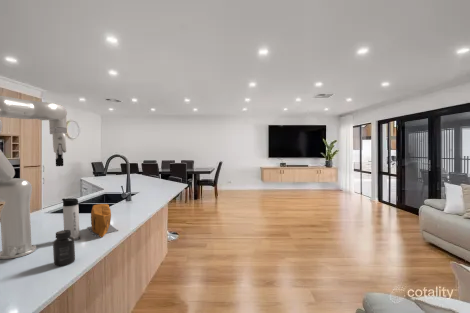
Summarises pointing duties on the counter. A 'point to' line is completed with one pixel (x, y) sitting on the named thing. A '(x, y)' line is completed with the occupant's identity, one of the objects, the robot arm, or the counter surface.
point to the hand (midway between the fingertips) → (59, 166)
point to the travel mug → (71, 216)
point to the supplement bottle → (63, 248)
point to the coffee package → (100, 218)
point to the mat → (110, 229)
